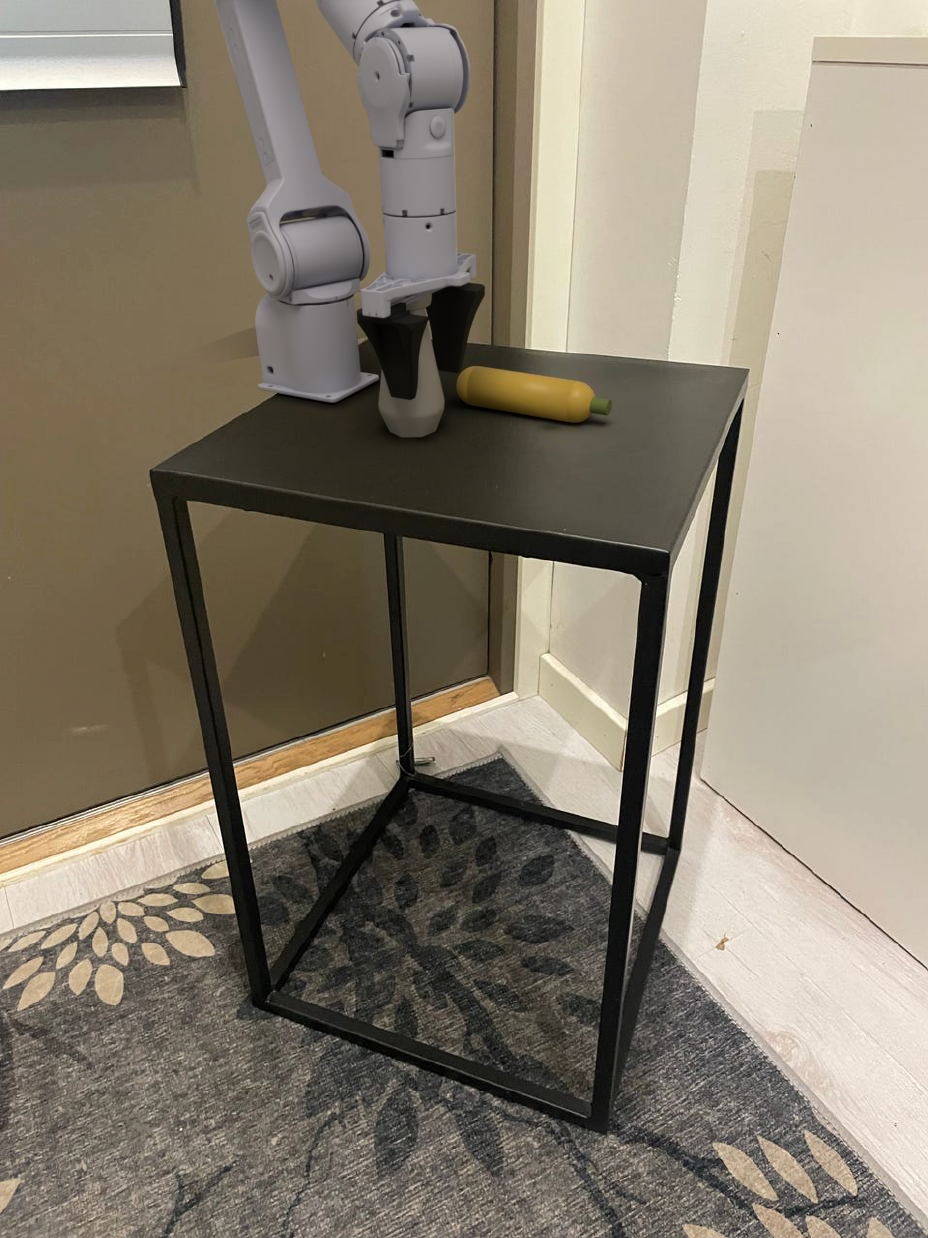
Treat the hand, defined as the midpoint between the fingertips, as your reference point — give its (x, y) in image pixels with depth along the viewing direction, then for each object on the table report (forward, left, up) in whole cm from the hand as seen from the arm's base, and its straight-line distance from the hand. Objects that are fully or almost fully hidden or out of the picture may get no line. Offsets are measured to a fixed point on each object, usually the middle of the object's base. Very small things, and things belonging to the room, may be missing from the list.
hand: (426, 383), depth 78 cm
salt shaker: (-2, 0, -5) cm, 5 cm away
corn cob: (+5, +8, -4) cm, 11 cm away
